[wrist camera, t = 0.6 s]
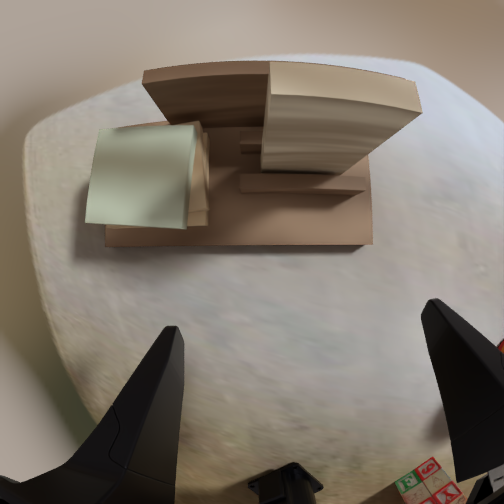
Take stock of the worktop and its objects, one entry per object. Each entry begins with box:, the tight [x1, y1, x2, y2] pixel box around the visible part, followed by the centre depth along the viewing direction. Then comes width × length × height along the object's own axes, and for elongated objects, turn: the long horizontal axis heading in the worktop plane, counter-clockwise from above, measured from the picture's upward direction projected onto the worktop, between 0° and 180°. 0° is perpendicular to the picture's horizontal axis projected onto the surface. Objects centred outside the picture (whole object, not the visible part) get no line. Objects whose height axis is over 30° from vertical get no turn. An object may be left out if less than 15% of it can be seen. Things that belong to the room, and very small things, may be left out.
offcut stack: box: [85, 121, 210, 230], centre depth 20 cm, size 8×8×4 cm
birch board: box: [261, 62, 422, 176], centre depth 15 cm, size 2×6×13 cm, turn 90°
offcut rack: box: [105, 61, 404, 247], centre depth 19 cm, size 10×22×10 cm, turn 90°
